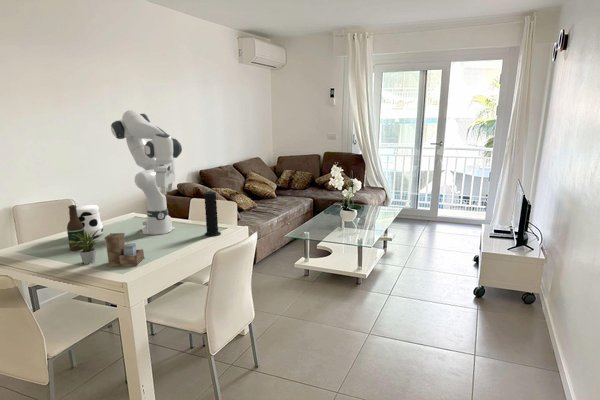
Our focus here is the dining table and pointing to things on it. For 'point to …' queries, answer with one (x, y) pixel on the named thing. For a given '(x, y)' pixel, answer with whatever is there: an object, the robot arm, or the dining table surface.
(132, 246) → the rail end
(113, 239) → the brown l-shaped block
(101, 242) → the dining table surface
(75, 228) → the beer bottle
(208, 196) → the handle grip
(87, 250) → the house plant
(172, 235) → the dining table surface
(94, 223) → the milk container
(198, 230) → the dining table surface
